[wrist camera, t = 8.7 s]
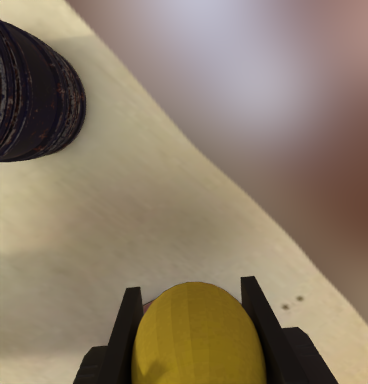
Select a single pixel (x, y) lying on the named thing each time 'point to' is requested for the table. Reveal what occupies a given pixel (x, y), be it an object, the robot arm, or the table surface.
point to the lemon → (197, 340)
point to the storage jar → (36, 97)
